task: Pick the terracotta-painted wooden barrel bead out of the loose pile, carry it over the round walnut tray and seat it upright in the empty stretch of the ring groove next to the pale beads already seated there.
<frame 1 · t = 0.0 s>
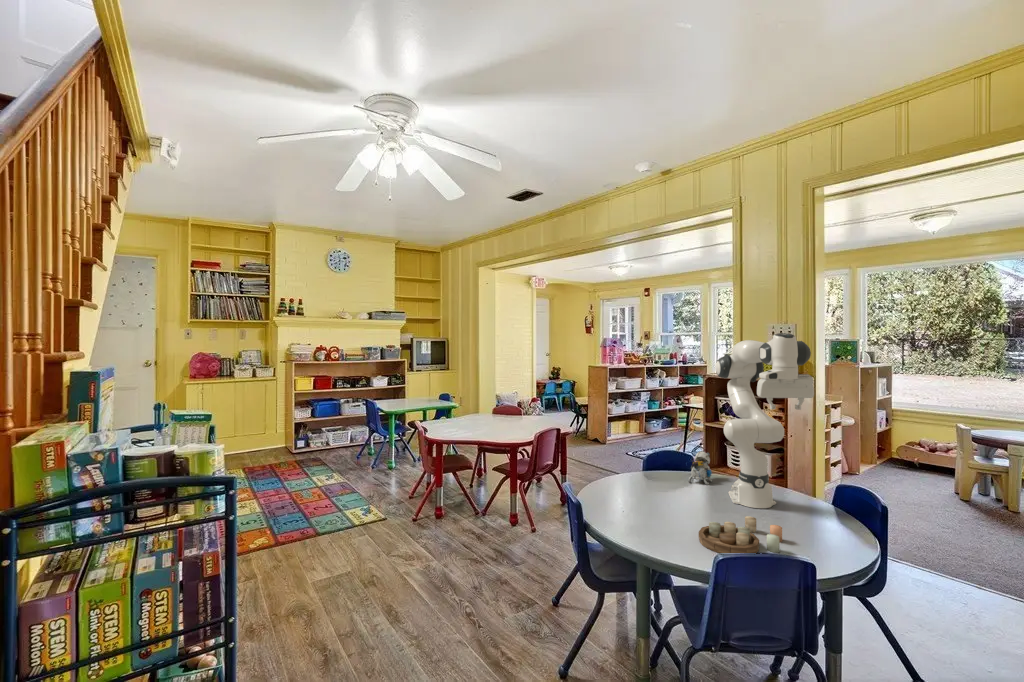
hand: (785, 409, 182), 48 cm above the table, fingers open, 8 cm apart
robotic toy: (700, 481, 248), on the table
terracotta bead: (776, 540, 174), on the table
maple bead: (750, 530, 183), on the table
groove tray: (728, 543, 171), on the table
sage bead: (773, 550, 166), on the table
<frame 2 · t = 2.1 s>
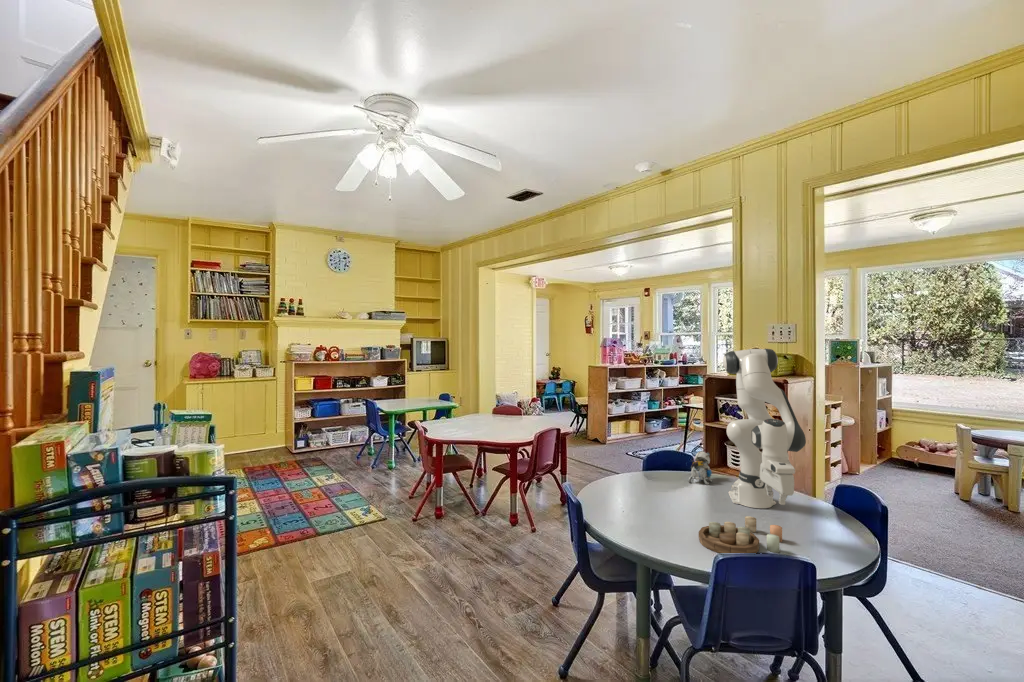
hand: (775, 500, 174), 15 cm above the table, fingers open, 8 cm apart
nothing on the table moved.
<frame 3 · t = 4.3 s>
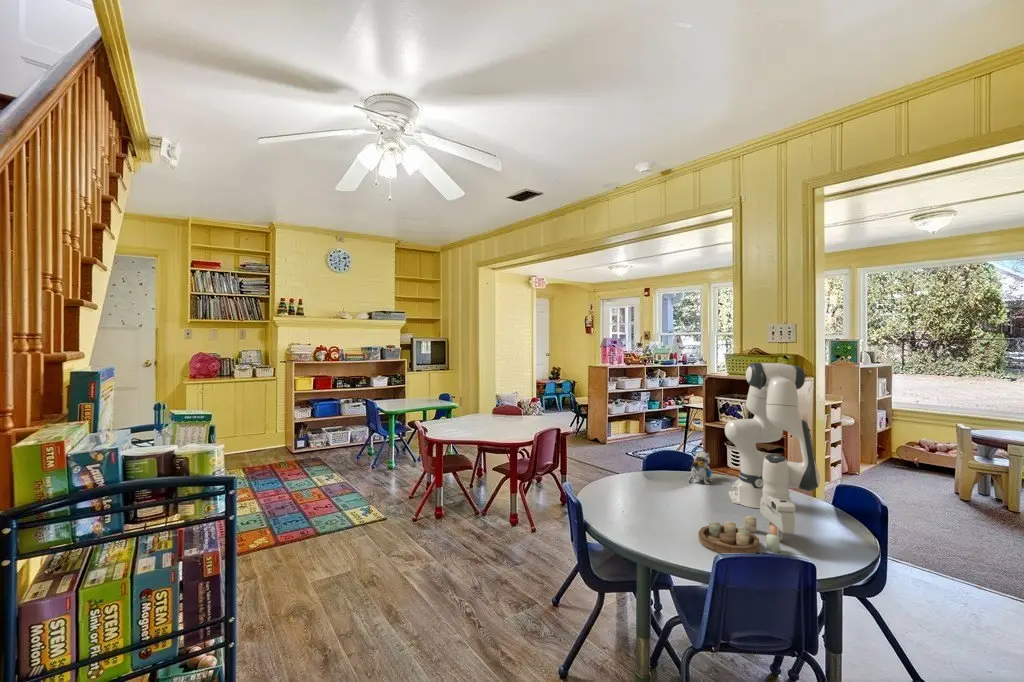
hand: (776, 535, 174), 2 cm above the table, fingers closed on terracotta bead, 4 cm apart
terracotta bead: (776, 540, 174), on the table, touching gripper
everything else where it was.
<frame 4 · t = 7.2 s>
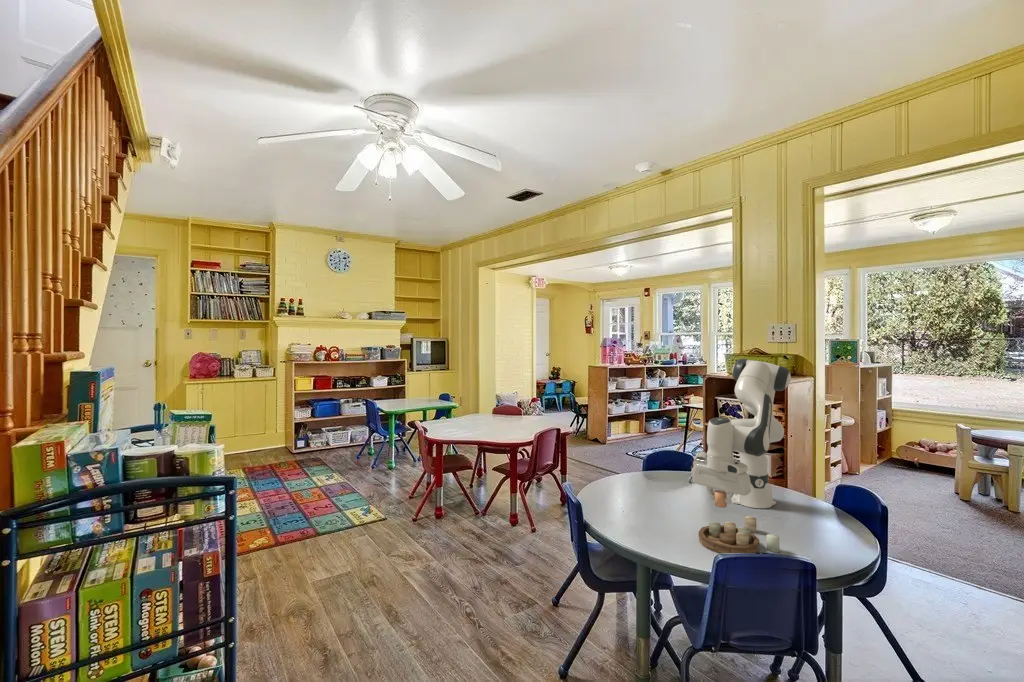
hand: (720, 501, 167), 17 cm above the table, fingers closed on terracotta bead, 4 cm apart
terracotta bead: (720, 505, 167), point 16 cm above the table, touching gripper
everything else where it was.
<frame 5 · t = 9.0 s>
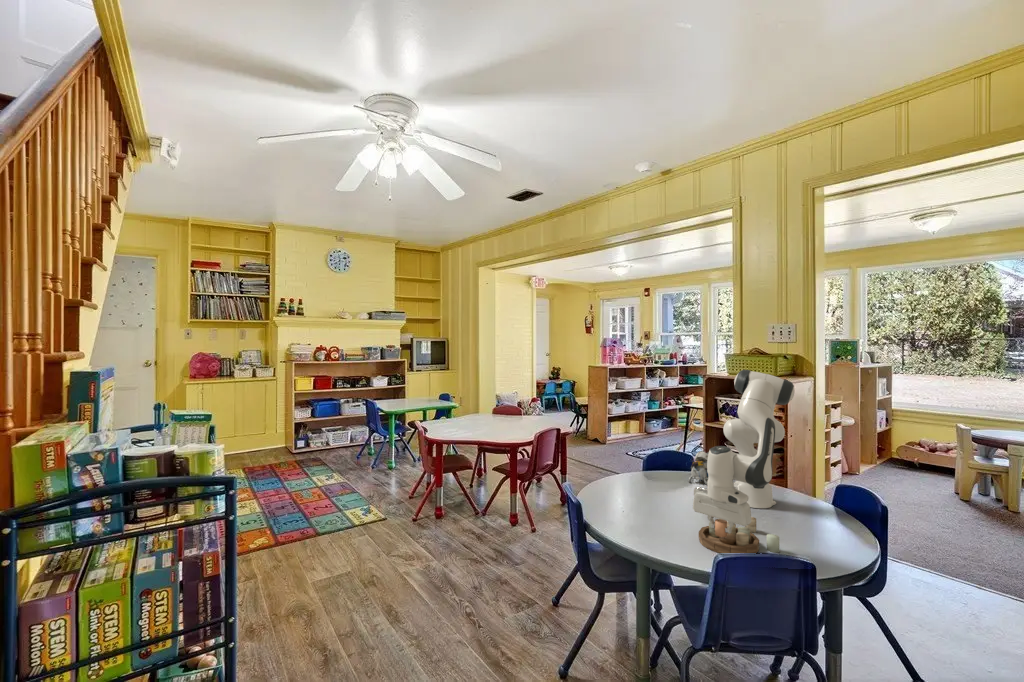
hand: (721, 530, 167), 7 cm above the table, fingers closed on terracotta bead, 4 cm apart
terracotta bead: (721, 534, 167), point 5 cm above the table, touching gripper
everything else where it was.
when the fingers open (4 cm above the table, at t = 10.4 s): terracotta bead drops 1 cm, resting on groove tray.
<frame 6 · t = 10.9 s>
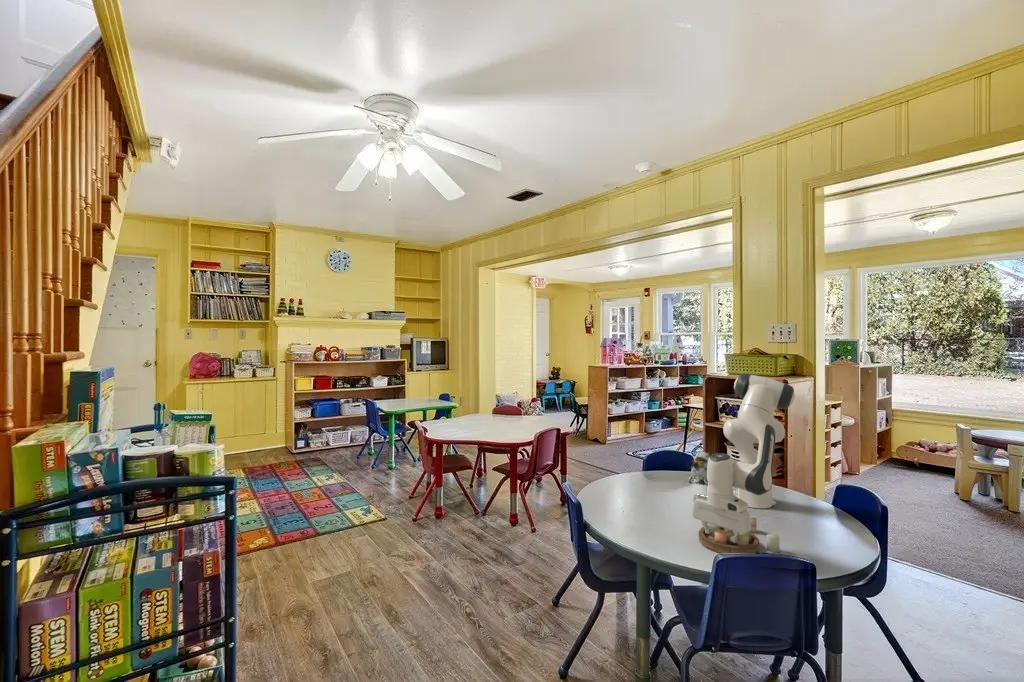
hand: (720, 537, 167), 4 cm above the table, fingers open, 8 cm apart
terracotta bead: (720, 545, 167), point 1 cm above the table, touching groove tray
everything else where it was.
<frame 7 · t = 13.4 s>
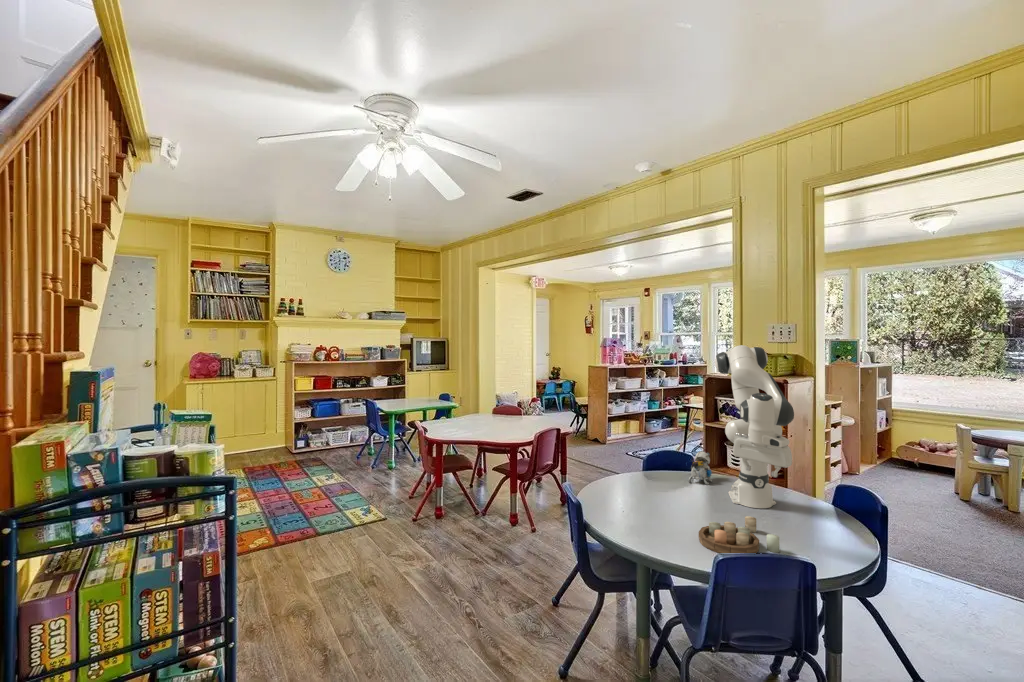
hand: (761, 473, 174), 25 cm above the table, fingers open, 8 cm apart
nothing on the table moved.
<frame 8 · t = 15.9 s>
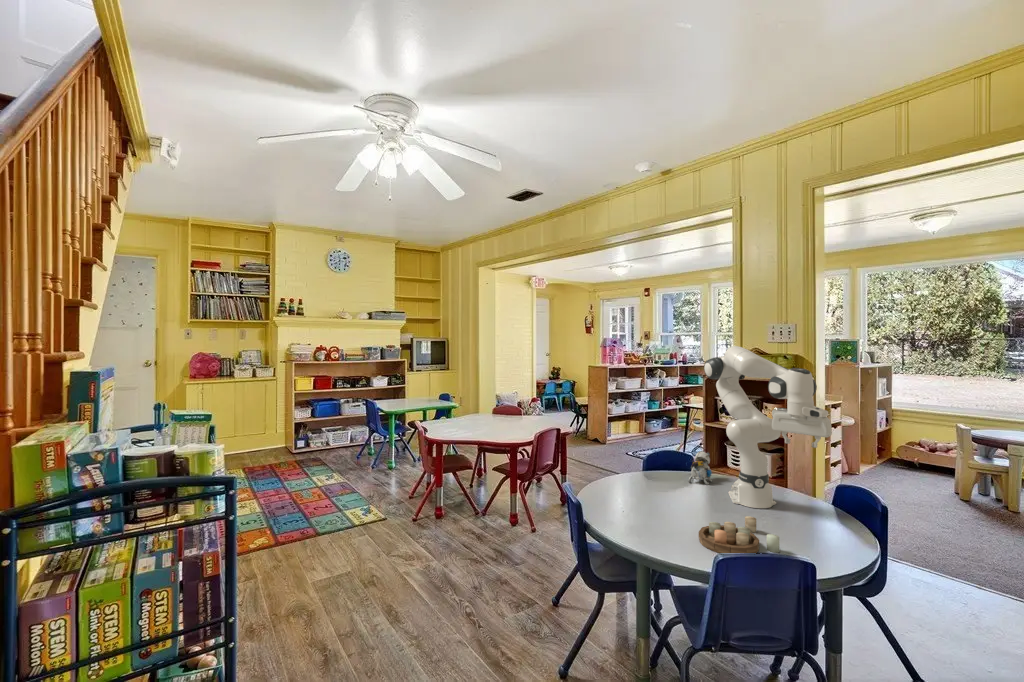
hand: (800, 445, 181), 34 cm above the table, fingers open, 8 cm apart
nothing on the table moved.
at the end: terracotta bead 0.1 cm from the target spot on the groove tray, point 1.0 cm above the groove tray's base; terracotta bead tilted 0°; the gripper is holding nothing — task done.
